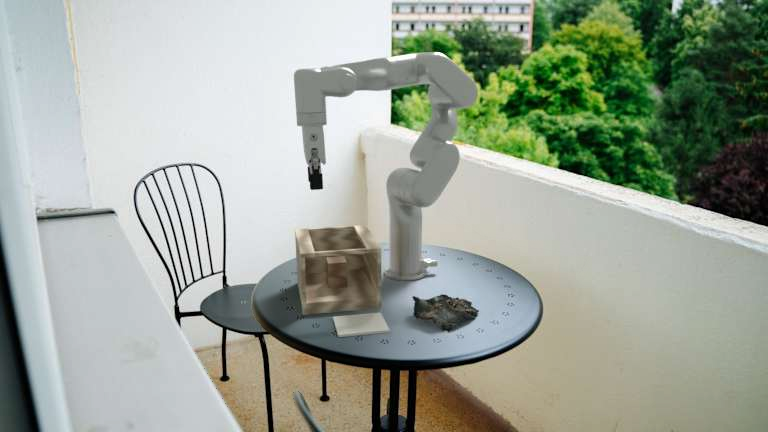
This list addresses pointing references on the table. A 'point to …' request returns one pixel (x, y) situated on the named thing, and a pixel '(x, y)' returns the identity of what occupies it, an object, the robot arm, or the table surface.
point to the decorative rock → (443, 310)
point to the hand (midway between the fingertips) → (315, 185)
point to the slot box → (360, 269)
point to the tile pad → (360, 324)
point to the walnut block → (336, 272)
